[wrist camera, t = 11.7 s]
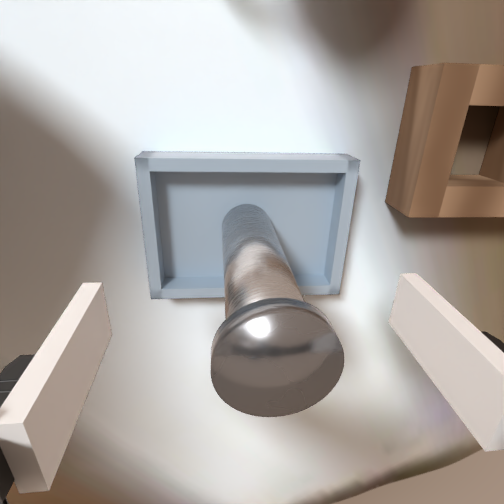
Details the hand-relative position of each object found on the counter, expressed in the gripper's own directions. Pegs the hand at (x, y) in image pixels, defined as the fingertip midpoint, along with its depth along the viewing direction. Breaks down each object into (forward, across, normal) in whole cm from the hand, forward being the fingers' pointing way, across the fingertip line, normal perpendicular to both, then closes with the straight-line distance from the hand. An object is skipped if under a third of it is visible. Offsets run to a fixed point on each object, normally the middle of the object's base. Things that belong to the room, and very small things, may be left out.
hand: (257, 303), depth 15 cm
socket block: (+11, +16, +6) cm, 20 cm away
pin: (+10, 0, 0) cm, 10 cm away
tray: (+11, 0, 0) cm, 11 cm away
